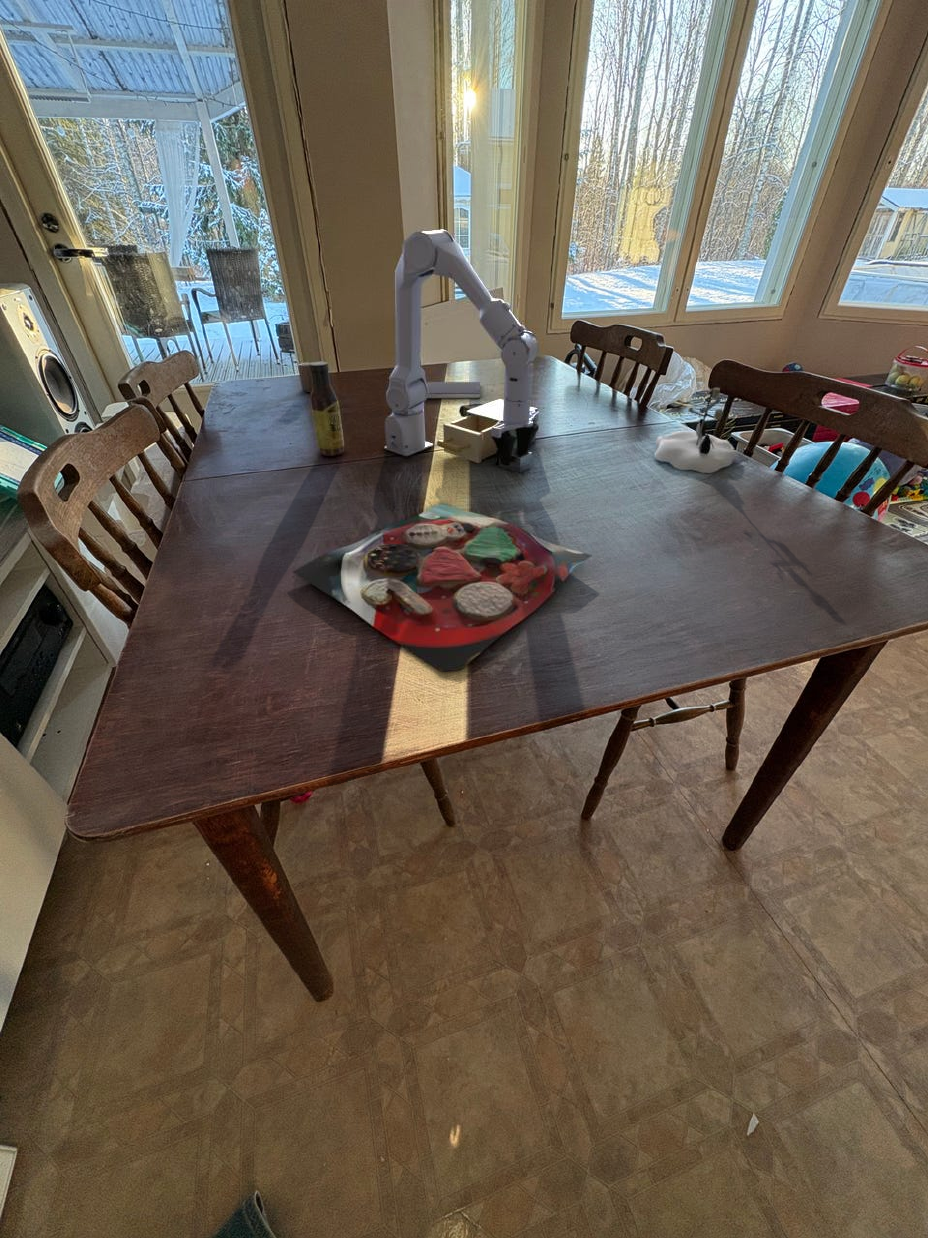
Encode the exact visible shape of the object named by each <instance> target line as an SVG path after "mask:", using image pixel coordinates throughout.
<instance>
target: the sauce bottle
mask: <svg viewBox="0 0 928 1238" xmlns="http://www.w3.org/2000/svg"><path fill="white" fill-rule="evenodd" d="M309 363H310V364H309V367H310V371H311V374H312V380H313V385H314V386H313V389H312V392H311V393H310V397H309V398H310V405H311V415H312V419H313V424H314V425H313V426H314V431H315V437H316V442H317V447H318V449H319V453H320V455H322V456H325V457H335V456H340V455H342V454H343V453H344V452H345V439H344V432H343V426H342V418H341V411H340V404H339V399H338V397H337V395H336V393H335V391H334V389H333V386H332V384H331V381H330V374H329V364H328V362H326V361H313V362H309Z"/></svg>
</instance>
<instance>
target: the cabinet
mask: <svg viewBox="0 0 928 1238" xmlns="http://www.w3.org/2000/svg"><path fill="white" fill-rule="evenodd" d="M503 407H504V399H501V398H498V399H495V400H493V401H489V402H487V403H484V404H483V405H482V406H479V407H476V408H474V409H471V410H468V411H466V417H467V416H469V415H475V416H478V417H482V418H485V419H489V420H493V421H496V422H499V421H500V420H501V419H502V418H503ZM530 411H536V412H539V408H538V407H533V406H530ZM537 422H538V421H536V422H533V423H534V424H537V425H538V423H537ZM509 434H511V436H514V437H517V436H516V430H515V429H514V430H512V431H510V433H509ZM536 435H537V433H536V434H535V435H534V437H533V439H532V442H531V444H532V443H534V442H536ZM513 447H515V448H517V439H516V441H515V443H514V446H513Z"/></svg>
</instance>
